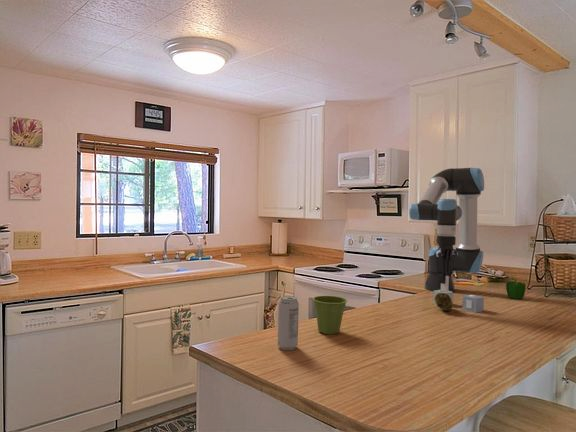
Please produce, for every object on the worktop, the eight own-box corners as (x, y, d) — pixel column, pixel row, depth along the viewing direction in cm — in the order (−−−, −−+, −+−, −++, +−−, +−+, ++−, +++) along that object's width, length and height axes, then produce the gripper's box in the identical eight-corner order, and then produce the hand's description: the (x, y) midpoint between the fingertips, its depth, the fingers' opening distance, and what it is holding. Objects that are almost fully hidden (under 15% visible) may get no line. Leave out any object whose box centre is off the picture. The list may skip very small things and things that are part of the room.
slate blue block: (462, 309, 186) (462, 295, 186) (470, 308, 190) (470, 293, 190) (475, 312, 182) (475, 297, 181) (483, 311, 185) (483, 296, 185)
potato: (459, 310, 186) (459, 291, 186) (447, 315, 176) (447, 295, 176) (440, 306, 191) (441, 288, 191) (427, 311, 182) (428, 292, 182)
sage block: (432, 303, 197) (433, 290, 197) (440, 302, 201) (441, 288, 201) (444, 306, 192) (444, 292, 192) (452, 304, 196) (453, 291, 196)
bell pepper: (528, 300, 209) (529, 279, 209) (511, 300, 210) (511, 279, 209) (519, 297, 218) (520, 277, 218) (503, 296, 218) (503, 276, 218)
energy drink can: (286, 343, 134) (287, 294, 134) (301, 347, 130) (302, 297, 130) (273, 347, 130) (274, 297, 129) (288, 352, 126) (290, 300, 126)
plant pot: (318, 337, 141) (319, 303, 140) (307, 328, 152) (308, 296, 152) (352, 335, 144) (353, 302, 144) (338, 326, 155) (339, 294, 155)
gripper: (444, 236, 176) (443, 294, 176) (463, 235, 184) (461, 291, 184) (429, 235, 182) (427, 291, 183) (447, 234, 190) (445, 288, 190)
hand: (444, 291), depth 183 cm, fingers closed
